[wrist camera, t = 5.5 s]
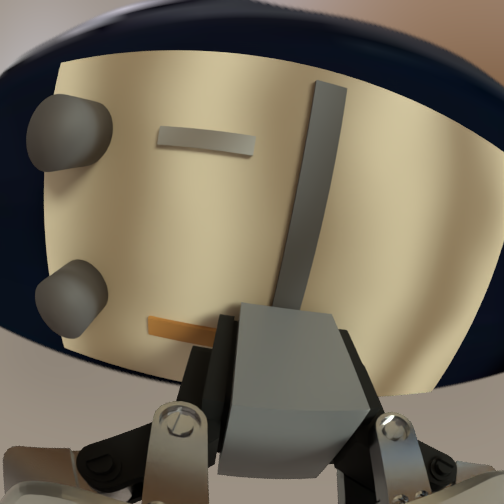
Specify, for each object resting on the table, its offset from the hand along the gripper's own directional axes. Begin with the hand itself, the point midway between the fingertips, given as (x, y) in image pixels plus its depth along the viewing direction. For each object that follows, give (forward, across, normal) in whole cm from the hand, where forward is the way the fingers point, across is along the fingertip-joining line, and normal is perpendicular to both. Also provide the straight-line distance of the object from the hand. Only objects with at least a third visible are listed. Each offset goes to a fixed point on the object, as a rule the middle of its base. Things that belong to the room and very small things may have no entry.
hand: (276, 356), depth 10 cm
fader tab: (0, 0, 0) cm, 0 cm away
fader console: (+5, 0, -4) cm, 6 cm away
